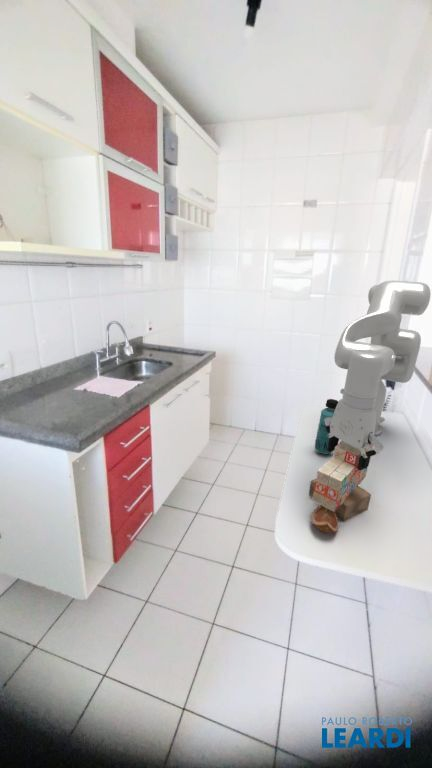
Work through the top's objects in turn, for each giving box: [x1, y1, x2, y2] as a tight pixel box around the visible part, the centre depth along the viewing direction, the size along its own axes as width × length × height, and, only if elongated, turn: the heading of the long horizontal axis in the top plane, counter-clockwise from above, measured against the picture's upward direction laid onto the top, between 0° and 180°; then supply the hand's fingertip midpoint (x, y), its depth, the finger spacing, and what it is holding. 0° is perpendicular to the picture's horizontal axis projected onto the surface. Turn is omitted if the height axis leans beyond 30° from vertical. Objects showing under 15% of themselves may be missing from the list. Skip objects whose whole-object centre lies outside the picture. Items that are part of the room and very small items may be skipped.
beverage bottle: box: [314, 398, 339, 455], centre depth 116 cm, size 6×7×20 cm
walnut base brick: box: [308, 478, 372, 523], centre depth 94 cm, size 10×12×5 cm
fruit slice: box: [310, 504, 340, 534], centre depth 85 cm, size 8×7×5 cm
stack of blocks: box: [311, 440, 374, 512], centre depth 91 cm, size 21×6×12 cm, turn 138°
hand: (346, 459), depth 91 cm, fingers open, 9 cm apart
